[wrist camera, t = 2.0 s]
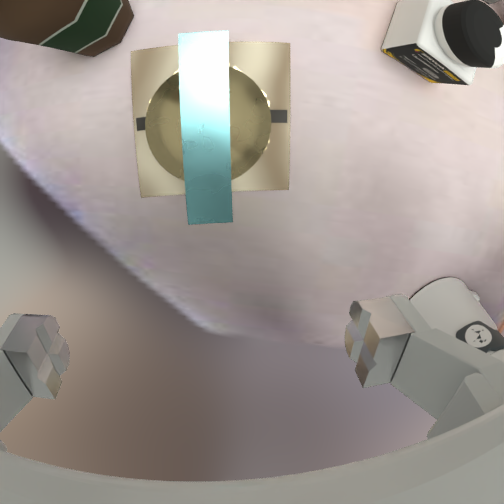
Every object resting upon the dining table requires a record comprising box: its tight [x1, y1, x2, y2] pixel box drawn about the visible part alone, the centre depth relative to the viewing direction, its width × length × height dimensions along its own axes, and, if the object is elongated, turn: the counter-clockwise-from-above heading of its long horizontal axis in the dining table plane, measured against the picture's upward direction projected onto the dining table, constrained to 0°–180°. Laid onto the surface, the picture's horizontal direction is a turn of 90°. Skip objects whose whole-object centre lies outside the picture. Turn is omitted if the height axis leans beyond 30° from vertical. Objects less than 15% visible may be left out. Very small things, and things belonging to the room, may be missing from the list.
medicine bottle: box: [381, 0, 504, 85], centre depth 19 cm, size 7×7×12 cm
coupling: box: [145, 31, 271, 225], centre depth 20 cm, size 8×11×10 cm
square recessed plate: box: [131, 42, 290, 198], centre depth 24 cm, size 14×14×6 cm
